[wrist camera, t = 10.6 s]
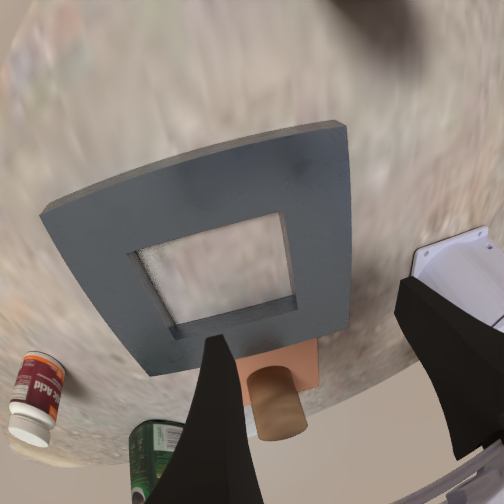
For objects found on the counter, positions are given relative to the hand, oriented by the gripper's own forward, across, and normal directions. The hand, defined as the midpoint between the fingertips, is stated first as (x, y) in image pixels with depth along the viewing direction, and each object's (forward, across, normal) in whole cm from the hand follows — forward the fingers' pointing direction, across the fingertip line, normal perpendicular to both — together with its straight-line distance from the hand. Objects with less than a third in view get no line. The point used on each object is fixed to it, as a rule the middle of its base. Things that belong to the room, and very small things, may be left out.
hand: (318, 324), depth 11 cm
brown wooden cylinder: (+8, +3, +17) cm, 19 cm away
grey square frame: (+8, +4, +3) cm, 10 cm away
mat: (+8, +3, +17) cm, 19 cm away
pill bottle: (+9, +24, +9) cm, 27 cm away
